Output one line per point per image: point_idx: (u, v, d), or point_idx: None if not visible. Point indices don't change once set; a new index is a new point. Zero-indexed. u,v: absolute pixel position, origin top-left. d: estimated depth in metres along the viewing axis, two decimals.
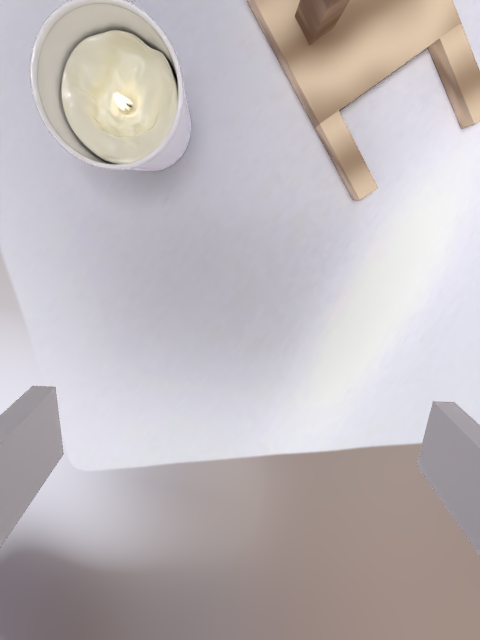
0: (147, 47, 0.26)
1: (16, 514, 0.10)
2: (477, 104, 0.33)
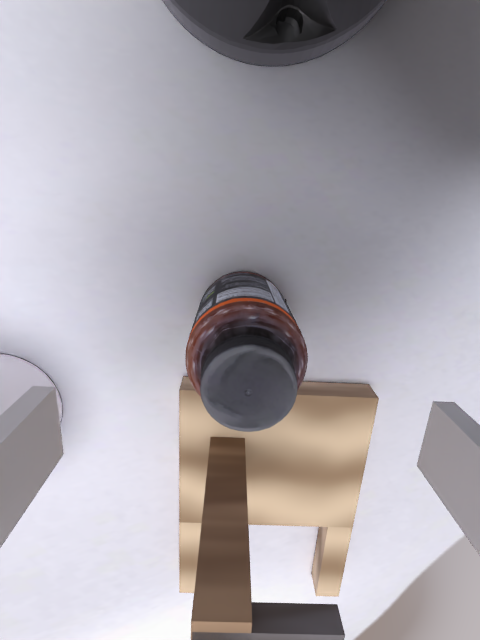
0: None
1: (16, 514, 0.10)
2: (327, 584, 0.31)
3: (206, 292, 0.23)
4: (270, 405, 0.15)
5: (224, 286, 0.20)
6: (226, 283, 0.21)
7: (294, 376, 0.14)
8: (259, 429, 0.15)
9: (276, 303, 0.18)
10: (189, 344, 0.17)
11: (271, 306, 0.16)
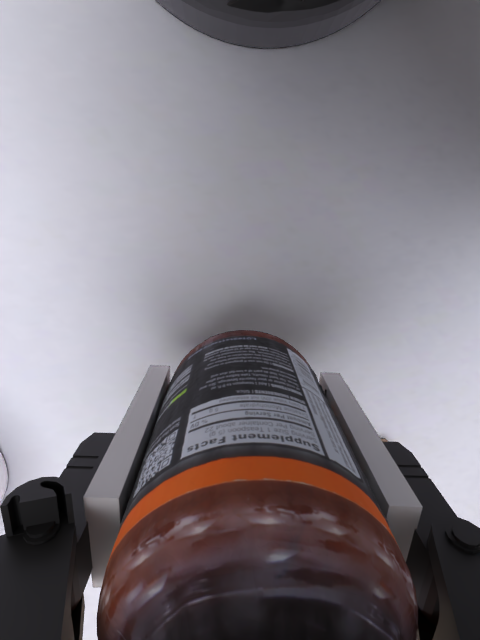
0: None
1: None
2: None
3: (177, 373, 0.12)
4: None
5: (207, 380, 0.10)
6: (212, 370, 0.10)
7: None
8: None
9: (329, 457, 0.07)
10: (102, 598, 0.06)
11: (326, 494, 0.06)
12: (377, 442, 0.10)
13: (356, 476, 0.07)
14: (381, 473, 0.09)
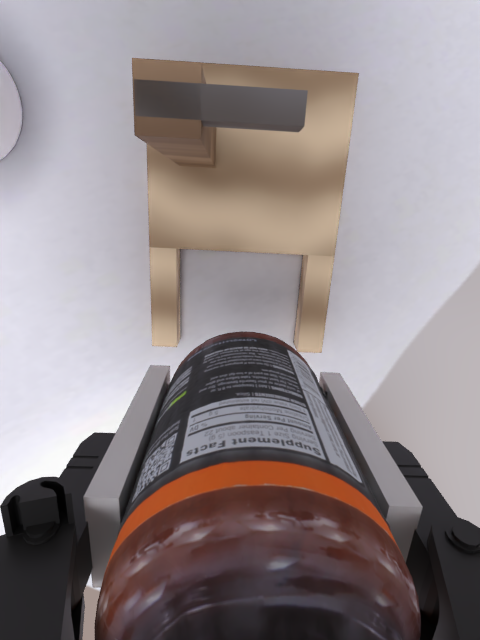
0: None
1: None
2: (309, 336, 0.29)
3: (177, 374, 0.12)
4: None
5: (207, 383, 0.10)
6: (212, 372, 0.10)
7: None
8: None
9: (331, 461, 0.07)
10: (100, 605, 0.06)
11: (327, 500, 0.06)
12: (377, 442, 0.10)
13: (358, 480, 0.07)
14: (381, 473, 0.09)
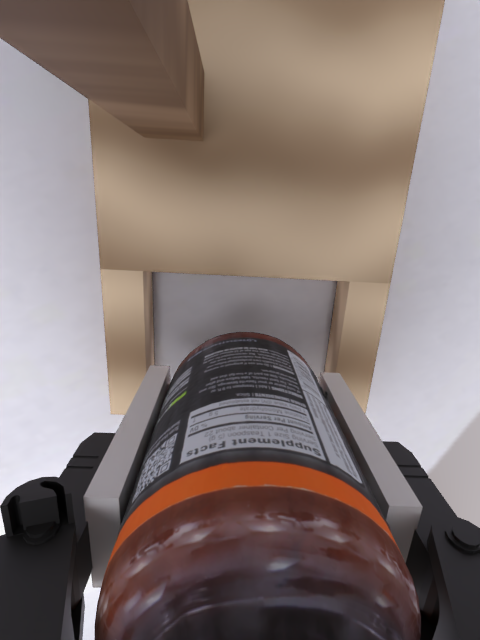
0: None
1: None
2: None
3: (177, 375, 0.12)
4: None
5: (207, 383, 0.10)
6: (212, 372, 0.10)
7: None
8: None
9: (331, 462, 0.07)
10: (100, 605, 0.06)
11: (327, 500, 0.06)
12: (377, 442, 0.10)
13: (358, 481, 0.07)
14: (381, 473, 0.09)
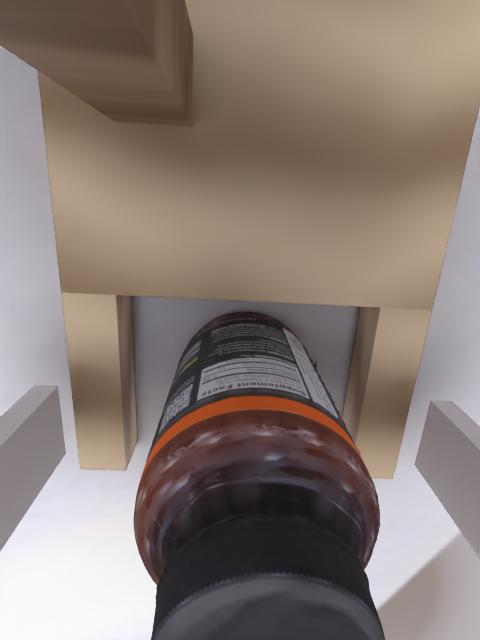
0: None
1: (19, 512, 0.10)
2: (373, 452, 0.16)
3: (188, 348, 0.14)
4: None
5: (215, 349, 0.12)
6: (219, 342, 0.12)
7: (381, 638, 0.06)
8: None
9: (314, 400, 0.09)
10: (139, 498, 0.08)
11: (309, 420, 0.08)
12: None
13: (335, 416, 0.09)
14: None
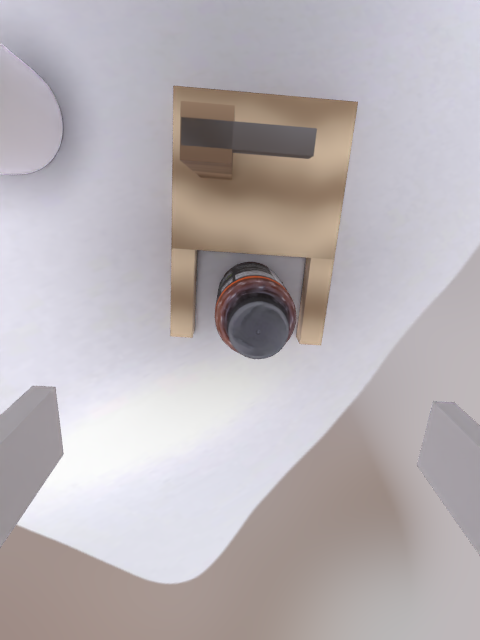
0: None
1: (16, 514, 0.10)
2: (310, 330, 0.33)
3: (224, 276, 0.31)
4: (272, 341, 0.23)
5: (239, 270, 0.29)
6: (240, 268, 0.29)
7: (287, 322, 0.23)
8: (264, 357, 0.23)
9: (276, 280, 0.26)
10: (218, 305, 0.25)
11: (273, 281, 0.25)
12: None
13: (283, 286, 0.26)
14: None
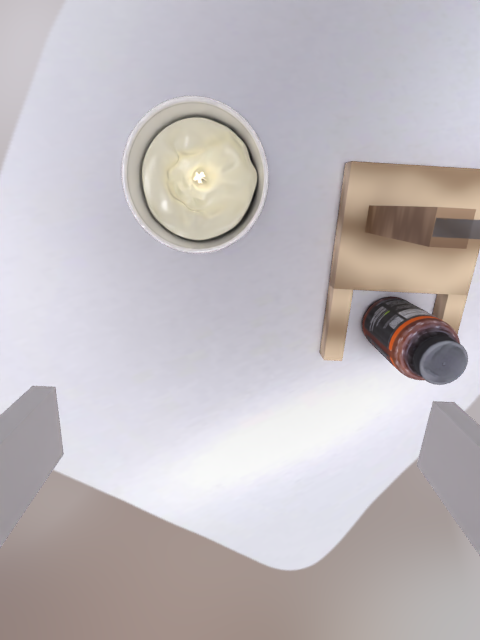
0: (248, 159, 0.27)
1: (16, 514, 0.10)
2: None
3: (374, 310, 0.38)
4: (453, 371, 0.29)
5: (396, 307, 0.35)
6: (395, 305, 0.36)
7: (467, 356, 0.29)
8: (445, 383, 0.30)
9: None
10: (399, 340, 0.31)
11: None
12: None
13: None
14: None
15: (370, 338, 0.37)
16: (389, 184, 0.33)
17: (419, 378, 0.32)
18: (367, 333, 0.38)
